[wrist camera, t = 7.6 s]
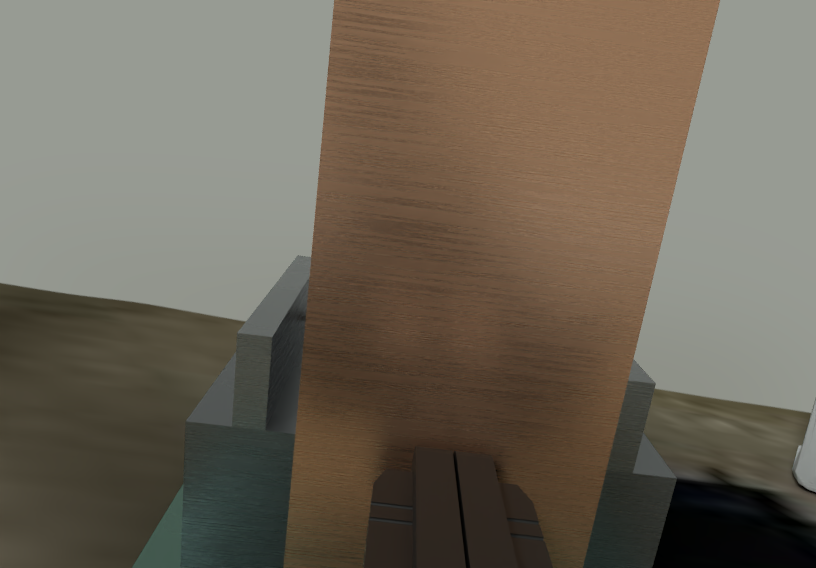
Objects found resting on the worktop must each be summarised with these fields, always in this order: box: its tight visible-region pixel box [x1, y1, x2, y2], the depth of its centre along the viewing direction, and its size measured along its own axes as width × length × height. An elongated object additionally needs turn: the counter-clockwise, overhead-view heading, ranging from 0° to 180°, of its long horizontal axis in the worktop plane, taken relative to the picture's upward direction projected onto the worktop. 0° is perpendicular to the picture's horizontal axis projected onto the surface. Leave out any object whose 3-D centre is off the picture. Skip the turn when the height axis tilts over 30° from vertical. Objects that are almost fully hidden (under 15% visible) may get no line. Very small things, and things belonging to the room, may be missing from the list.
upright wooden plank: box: [283, 0, 720, 568], centre depth 17 cm, size 6×12×18 cm, turn 0°
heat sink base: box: [132, 256, 677, 568], centre depth 18 cm, size 16×28×13 cm, turn 0°
